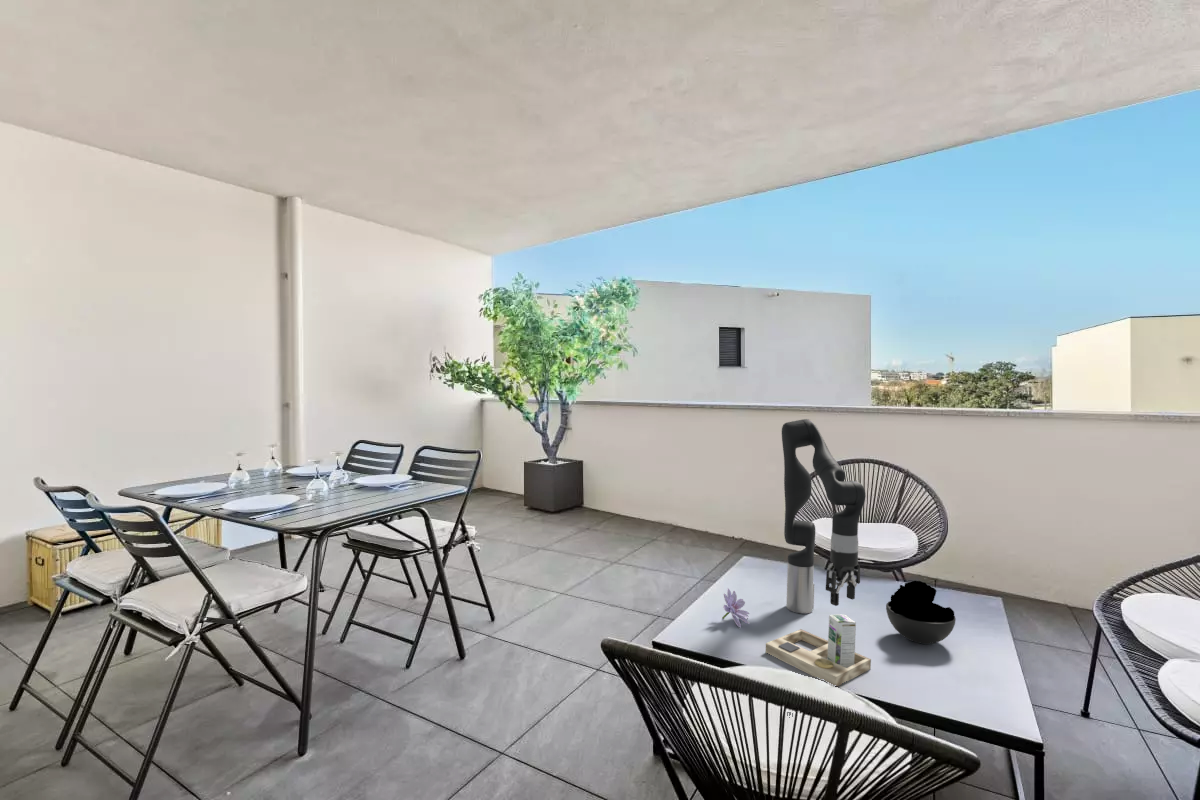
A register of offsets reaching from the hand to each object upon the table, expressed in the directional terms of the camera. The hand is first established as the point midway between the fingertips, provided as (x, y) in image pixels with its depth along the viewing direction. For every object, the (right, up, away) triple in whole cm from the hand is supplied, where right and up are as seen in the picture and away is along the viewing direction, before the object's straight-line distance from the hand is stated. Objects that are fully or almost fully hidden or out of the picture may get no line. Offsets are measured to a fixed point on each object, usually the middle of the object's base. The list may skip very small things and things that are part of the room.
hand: (842, 601), depth 168 cm
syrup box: (0, -20, +1) cm, 20 cm away
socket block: (-6, -19, +4) cm, 21 cm away
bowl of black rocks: (+33, -20, +18) cm, 43 cm away
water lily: (-24, -19, +30) cm, 43 cm away
